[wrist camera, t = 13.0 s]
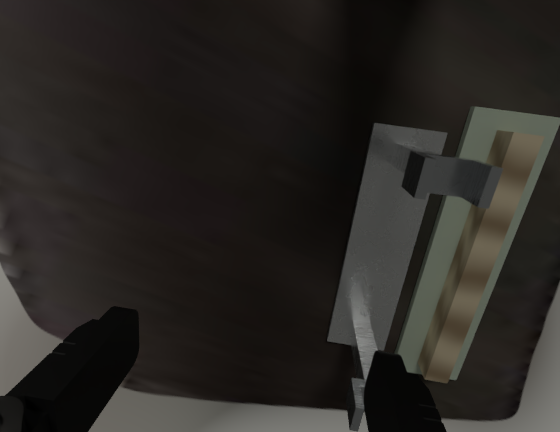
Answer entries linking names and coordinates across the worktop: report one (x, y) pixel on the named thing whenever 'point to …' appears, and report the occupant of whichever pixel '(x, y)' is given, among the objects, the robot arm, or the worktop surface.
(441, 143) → the hook stand
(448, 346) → the rail
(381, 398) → the robot arm
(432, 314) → the mat
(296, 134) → the worktop surface
